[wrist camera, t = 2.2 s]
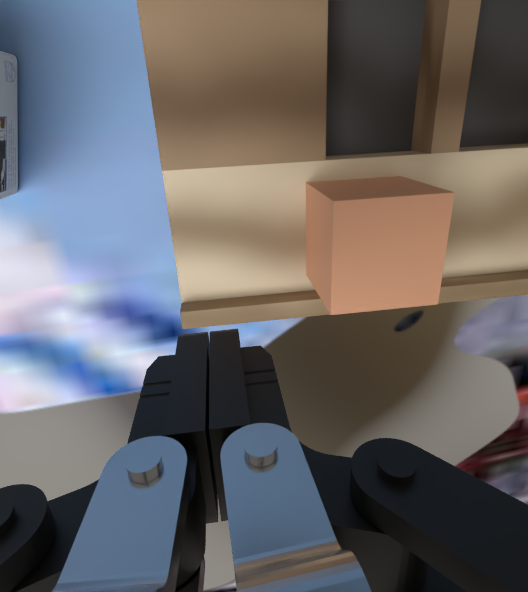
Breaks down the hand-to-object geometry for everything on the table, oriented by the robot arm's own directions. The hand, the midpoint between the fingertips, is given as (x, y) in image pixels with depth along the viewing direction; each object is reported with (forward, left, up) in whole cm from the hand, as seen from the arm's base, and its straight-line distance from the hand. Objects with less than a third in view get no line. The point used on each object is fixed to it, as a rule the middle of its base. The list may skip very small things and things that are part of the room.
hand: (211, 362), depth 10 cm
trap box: (-4, +9, -14) cm, 17 cm away
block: (0, +8, -11) cm, 14 cm away
